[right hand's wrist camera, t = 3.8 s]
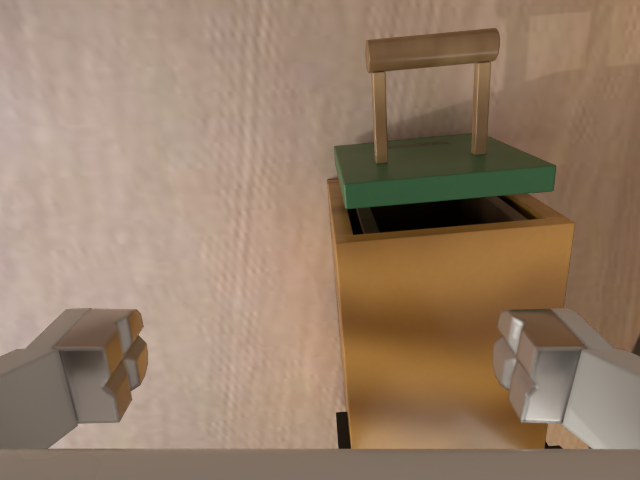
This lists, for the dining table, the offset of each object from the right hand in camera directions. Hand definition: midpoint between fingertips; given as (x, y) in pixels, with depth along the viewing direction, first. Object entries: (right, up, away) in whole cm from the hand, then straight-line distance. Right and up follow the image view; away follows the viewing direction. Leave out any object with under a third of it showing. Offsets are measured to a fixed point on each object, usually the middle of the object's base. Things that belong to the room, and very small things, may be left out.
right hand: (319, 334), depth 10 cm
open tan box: (+7, -3, +24) cm, 25 cm away
